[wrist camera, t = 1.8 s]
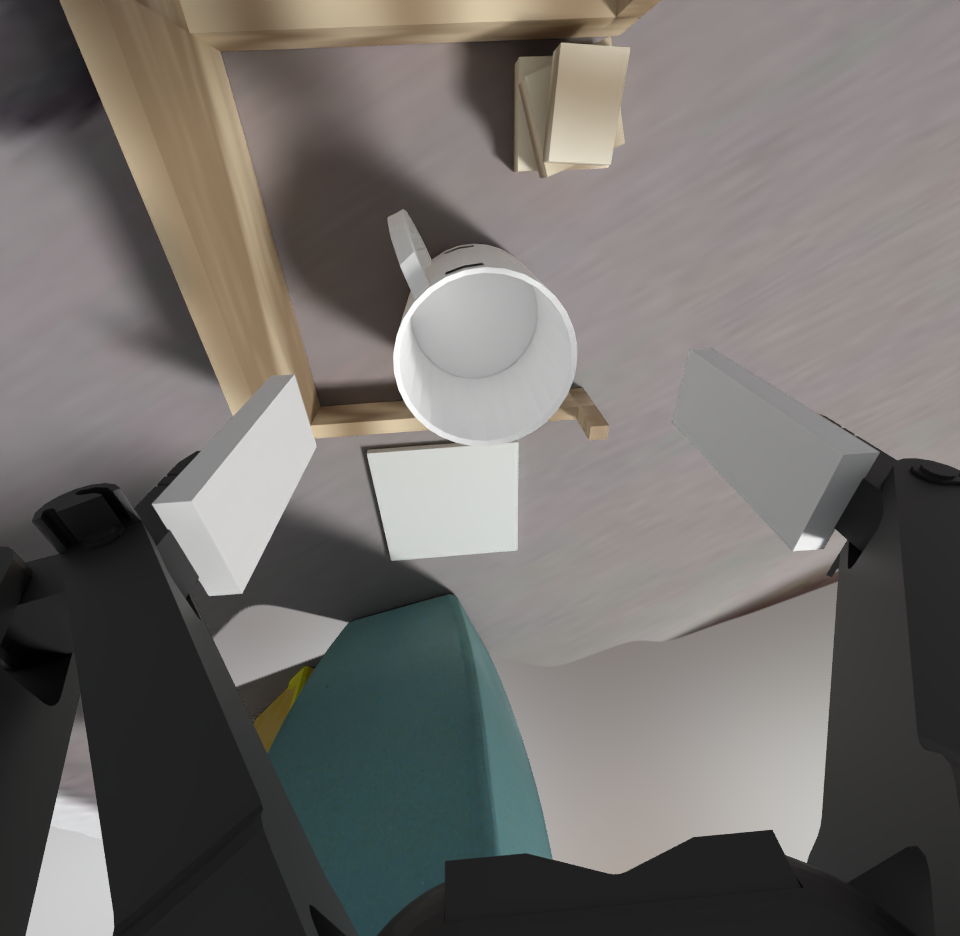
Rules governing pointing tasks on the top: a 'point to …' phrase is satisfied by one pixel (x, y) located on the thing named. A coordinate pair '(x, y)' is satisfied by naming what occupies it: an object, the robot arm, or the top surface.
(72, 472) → the top surface
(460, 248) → the mug
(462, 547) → the felt mat
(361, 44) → the frame
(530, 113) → the offcut
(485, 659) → the flower pot
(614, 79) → the offcut
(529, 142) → the offcut
